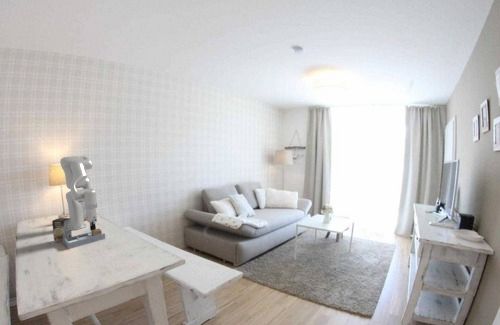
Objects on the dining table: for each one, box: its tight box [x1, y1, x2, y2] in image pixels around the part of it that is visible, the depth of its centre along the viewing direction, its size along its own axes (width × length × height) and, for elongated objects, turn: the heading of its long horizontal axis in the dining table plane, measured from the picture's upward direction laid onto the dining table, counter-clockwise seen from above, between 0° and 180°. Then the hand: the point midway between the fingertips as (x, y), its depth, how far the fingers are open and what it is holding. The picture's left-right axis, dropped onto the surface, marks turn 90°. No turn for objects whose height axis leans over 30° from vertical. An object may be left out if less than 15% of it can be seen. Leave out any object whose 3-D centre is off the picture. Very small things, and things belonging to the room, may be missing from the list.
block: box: [90, 228, 102, 236], centre depth 174 cm, size 5×5×4 cm
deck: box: [62, 231, 106, 250], centre depth 171 cm, size 16×22×4 cm
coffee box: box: [51, 217, 73, 243], centre depth 172 cm, size 9×6×16 cm
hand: (93, 230), depth 179 cm, fingers closed
